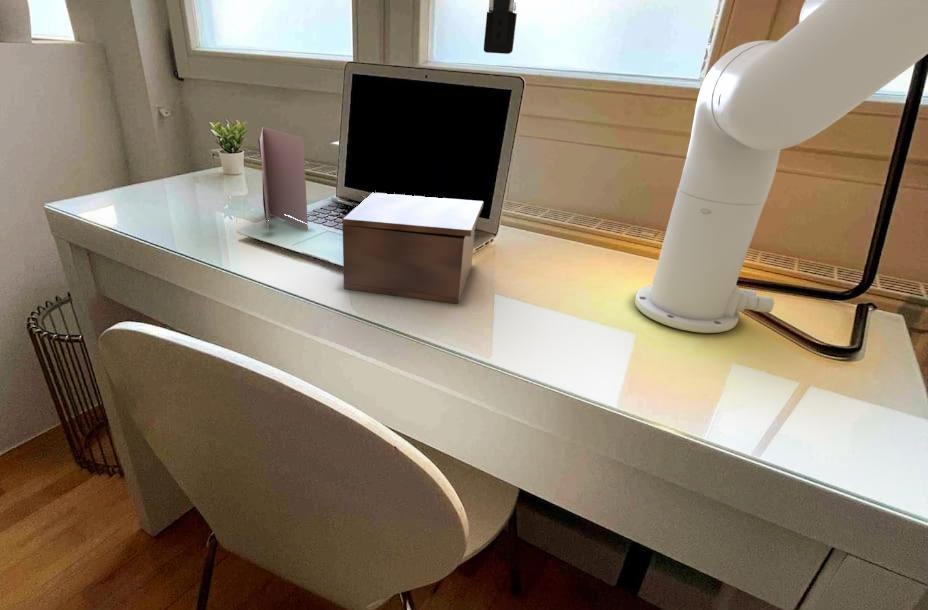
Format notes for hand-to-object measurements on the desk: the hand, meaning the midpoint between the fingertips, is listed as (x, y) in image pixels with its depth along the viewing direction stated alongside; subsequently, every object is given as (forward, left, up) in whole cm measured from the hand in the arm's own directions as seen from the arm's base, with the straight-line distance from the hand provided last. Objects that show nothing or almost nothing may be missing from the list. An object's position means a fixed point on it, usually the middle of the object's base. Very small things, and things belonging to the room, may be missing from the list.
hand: (497, 52), depth 65 cm
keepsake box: (+9, 0, -29) cm, 30 cm away
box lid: (+9, 0, -20) cm, 22 cm away
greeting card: (+35, -16, -29) cm, 48 cm away
